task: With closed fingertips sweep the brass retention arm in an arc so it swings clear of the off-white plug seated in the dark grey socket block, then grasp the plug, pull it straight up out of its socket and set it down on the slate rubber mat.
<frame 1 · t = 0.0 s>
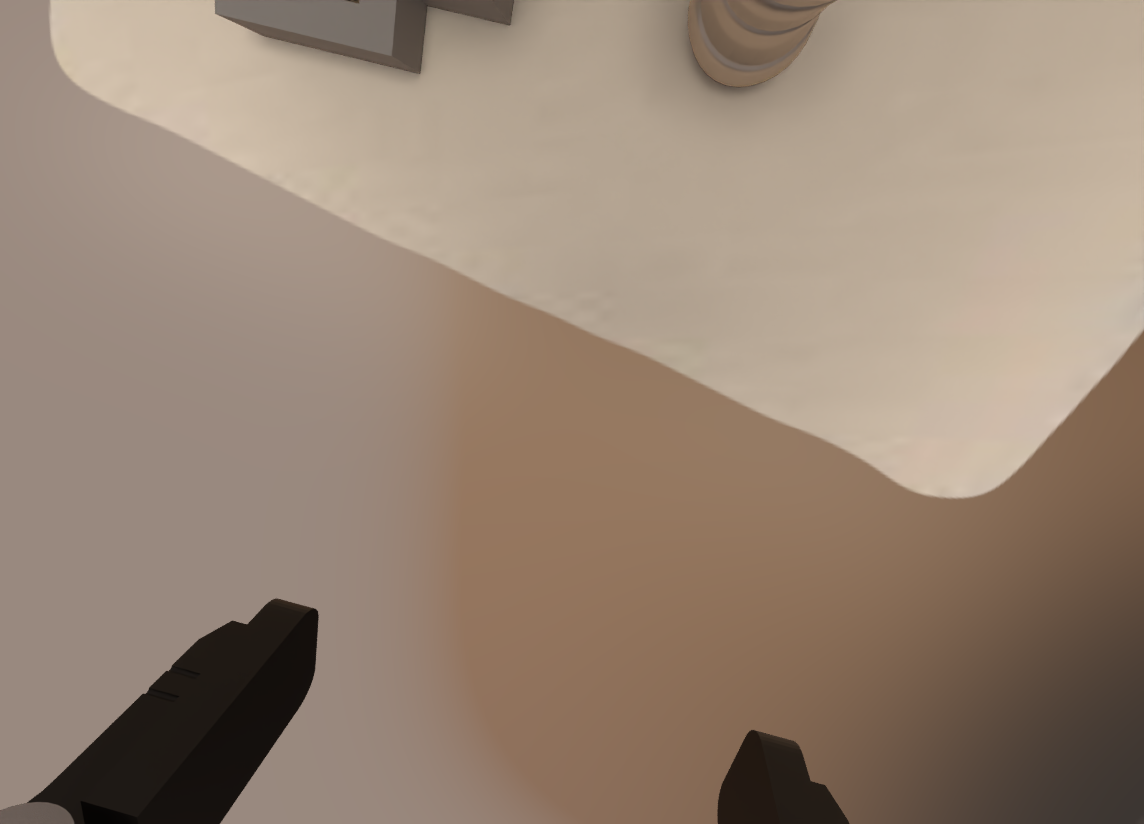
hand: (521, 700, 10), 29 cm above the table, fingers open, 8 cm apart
plastic bottle: (742, 27, 30), on the table
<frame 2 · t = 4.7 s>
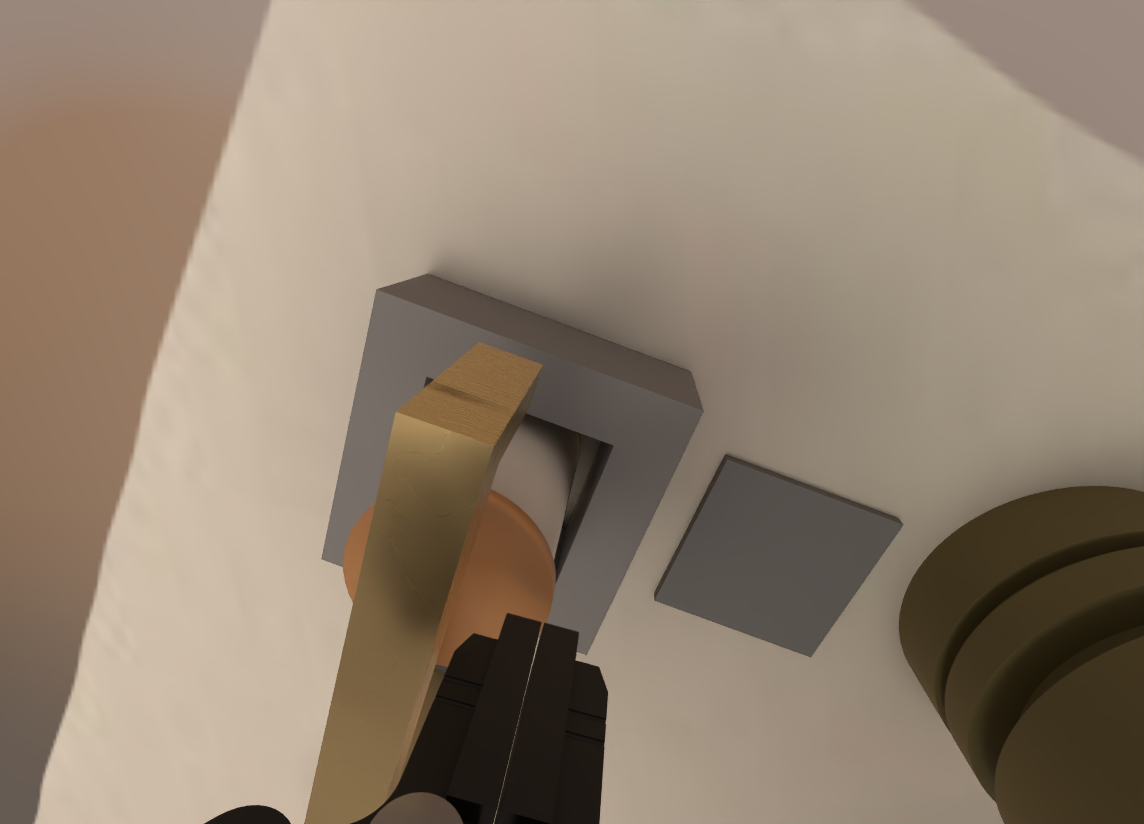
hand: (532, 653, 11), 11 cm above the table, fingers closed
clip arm: (392, 709, 12), point 10 cm above the table, hinge at 0.9°, touching gripper
mat: (769, 558, 22), on the table
piston: (1050, 610, 21), on the table
socket block: (518, 442, 21), on the table
plug: (518, 442, 21), resting in socket block
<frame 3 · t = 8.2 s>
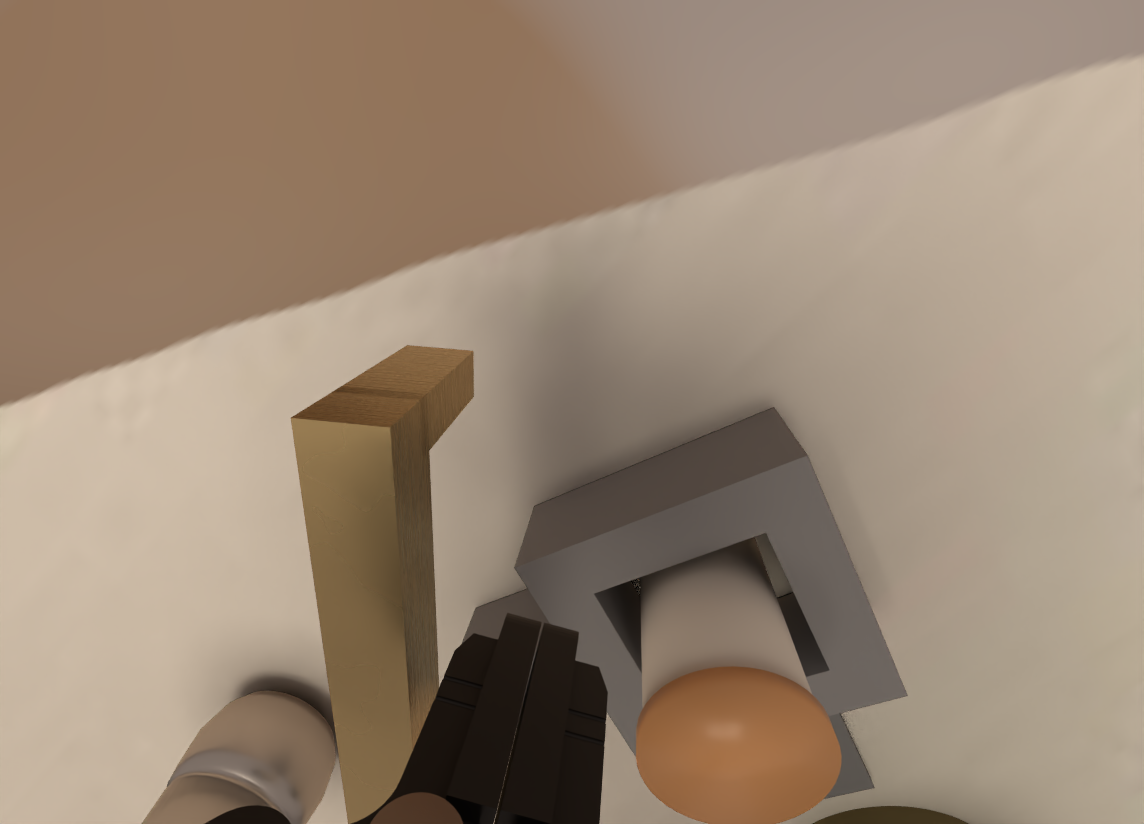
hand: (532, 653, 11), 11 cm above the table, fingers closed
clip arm: (421, 724, 12), point 10 cm above the table, hinge at 58.9°, touching gripper
plastic bottle: (294, 717, 28), on the table
mat: (771, 747, 25), on the table
socket block: (698, 560, 22), on the table
plug: (698, 559, 22), resting in socket block
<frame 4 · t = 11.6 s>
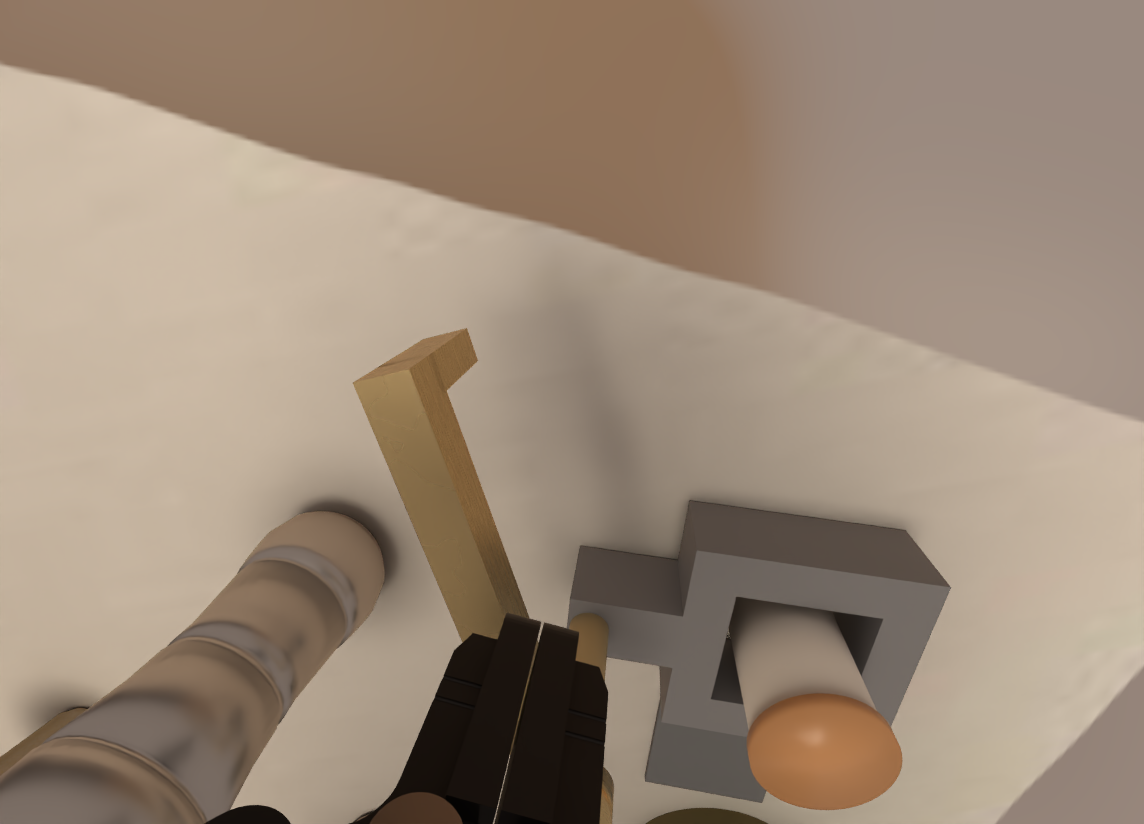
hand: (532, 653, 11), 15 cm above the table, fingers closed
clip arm: (513, 608, 16), point 10 cm above the table, hinge at 110.2°
plastic bottle: (344, 546, 30), on the table
mat: (712, 745, 32), on the table
flower pot: (102, 734, 39), on the table
socket block: (772, 599, 27), on the table
plug: (772, 598, 27), resting in socket block
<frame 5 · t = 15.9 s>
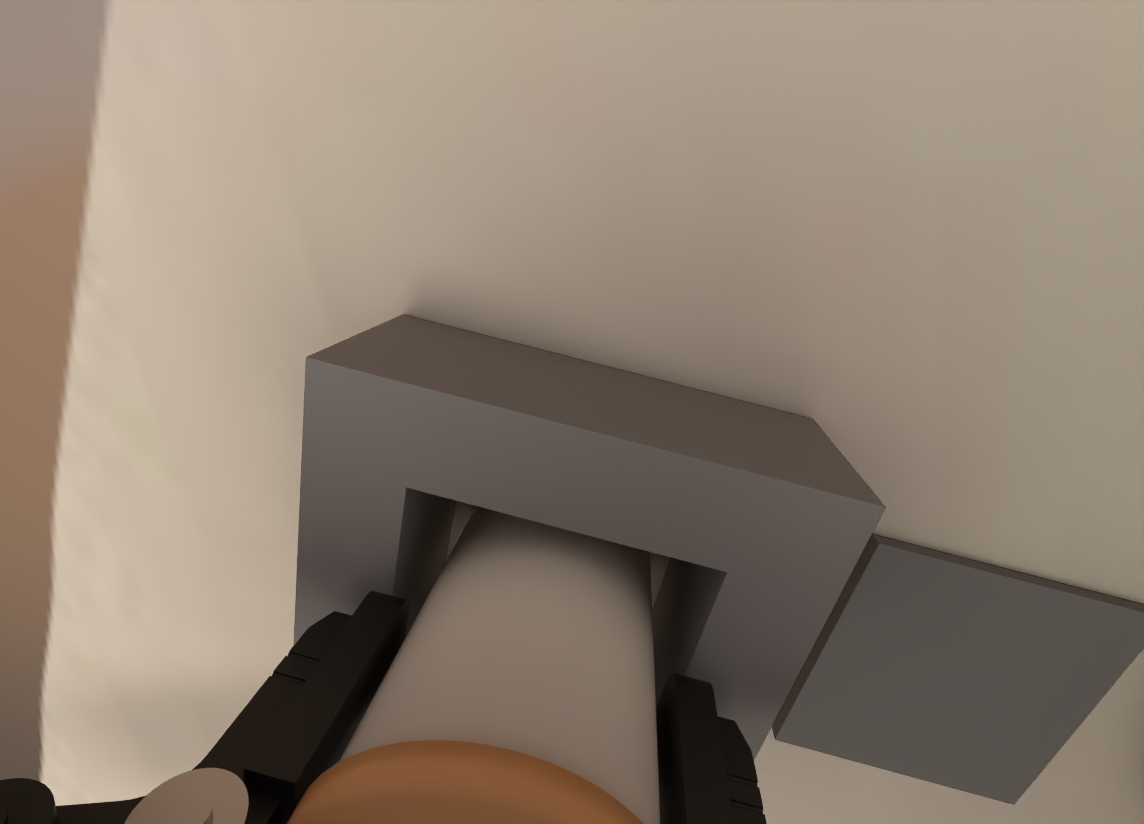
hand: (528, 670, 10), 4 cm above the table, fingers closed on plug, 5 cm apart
mat: (944, 672, 15), on the table
socket block: (560, 538, 15), on the table
plug: (560, 538, 15), resting in socket block, touching gripper
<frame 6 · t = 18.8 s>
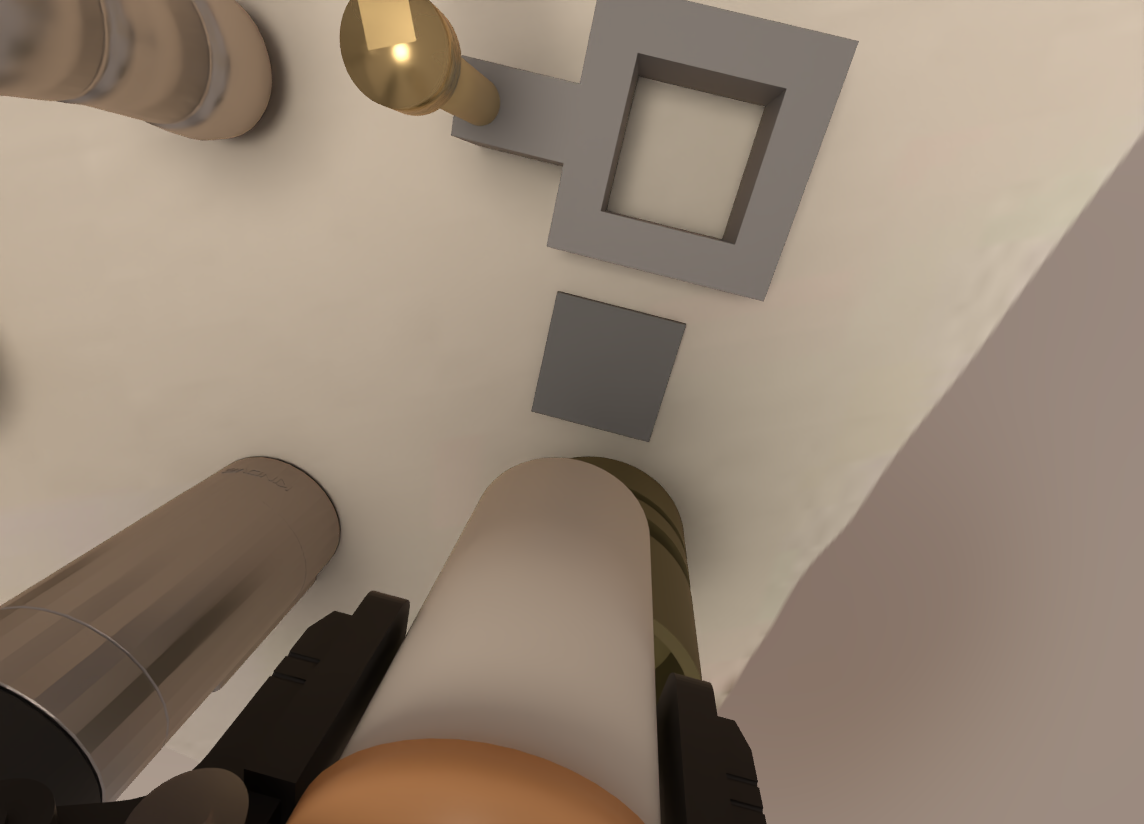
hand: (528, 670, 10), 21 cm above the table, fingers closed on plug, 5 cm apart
plastic bottle: (233, 73, 27), on the table
mat: (605, 368, 30), on the table
piston: (593, 535, 34), on the table
socket block: (682, 160, 26), on the table
plug: (560, 537, 15), point 17 cm above the table, touching gripper
when the fingers open (6 cm above the table, at t = 22.0 s): plug drops 2 cm, resting on mat.
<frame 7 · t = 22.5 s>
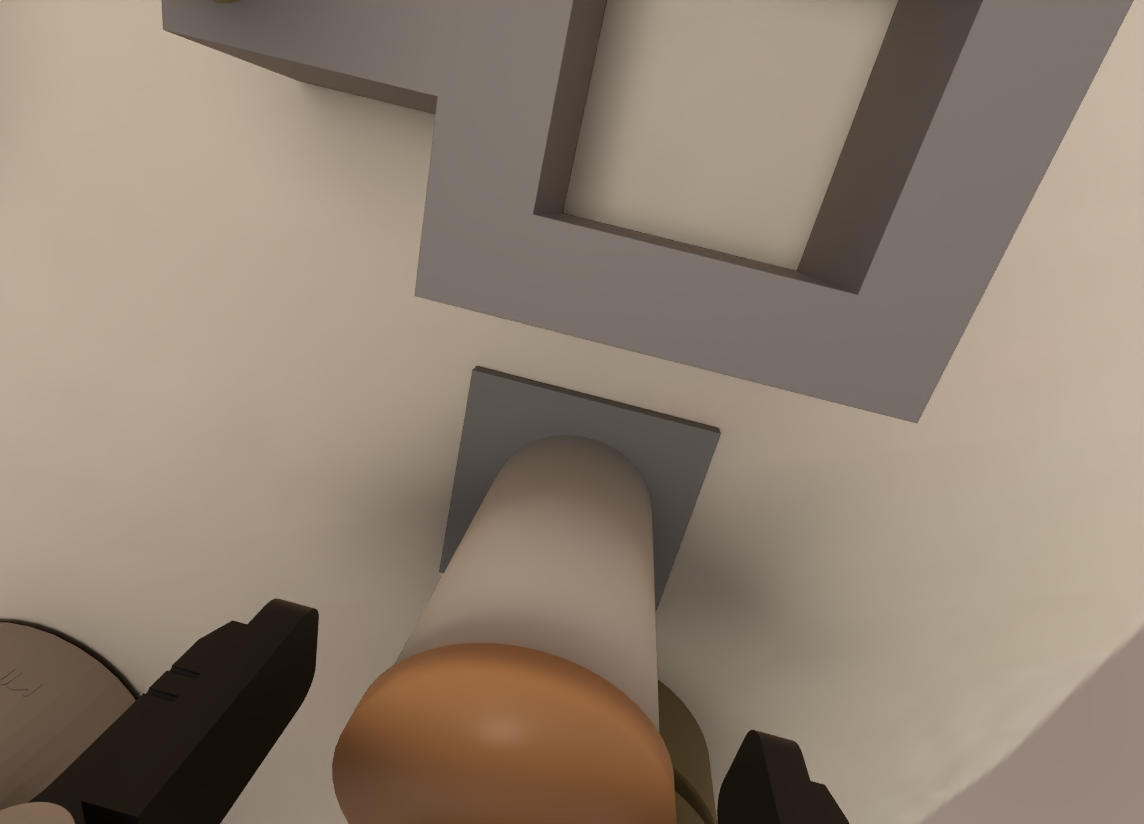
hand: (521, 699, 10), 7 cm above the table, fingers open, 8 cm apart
mat: (569, 502, 16), on the table
piston: (557, 753, 21), on the table
socket block: (717, 108, 12), on the table
plug: (570, 509, 16), resting on mat
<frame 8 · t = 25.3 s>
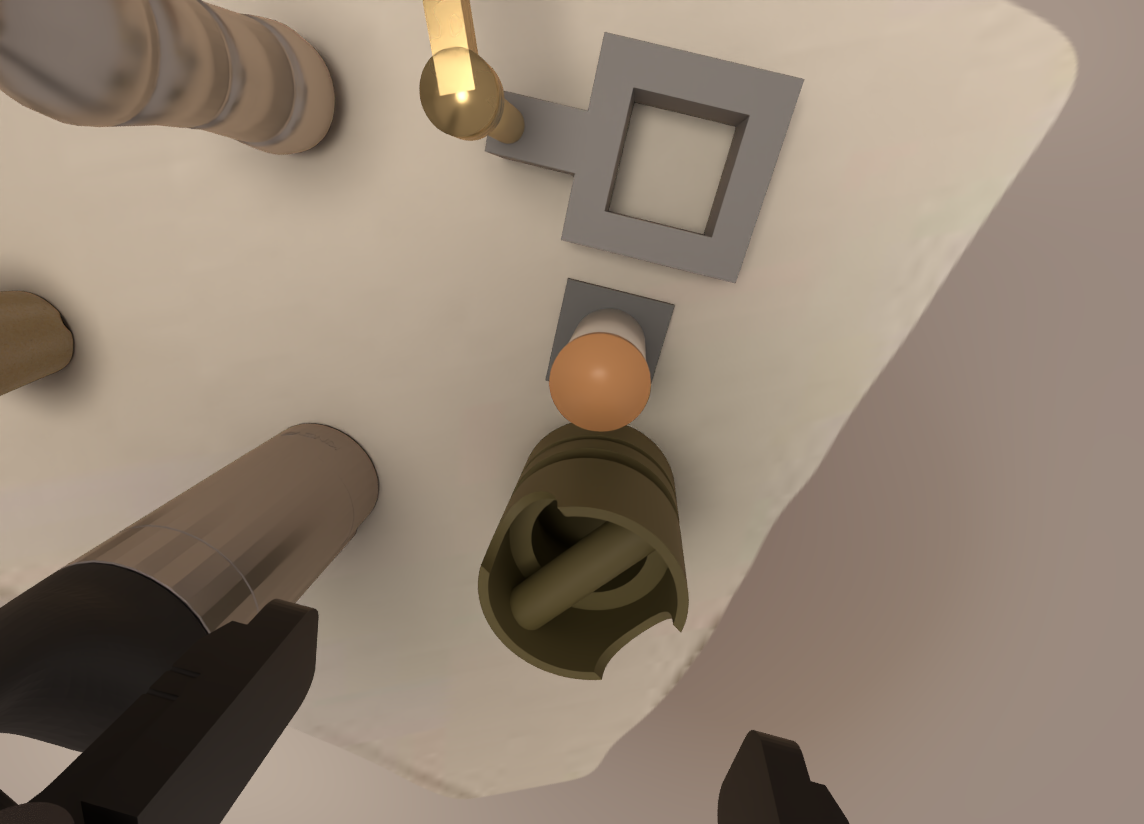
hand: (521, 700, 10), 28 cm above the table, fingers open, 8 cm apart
plastic bottle: (300, 99, 33), on the table
mat: (607, 343, 36), on the table
flower pot: (41, 331, 41), on the table
piston: (597, 488, 40), on the table
socket block: (670, 170, 32), on the table
plug: (608, 344, 35), resting on mat
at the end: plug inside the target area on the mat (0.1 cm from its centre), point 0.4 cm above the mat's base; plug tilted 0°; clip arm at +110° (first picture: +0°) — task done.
